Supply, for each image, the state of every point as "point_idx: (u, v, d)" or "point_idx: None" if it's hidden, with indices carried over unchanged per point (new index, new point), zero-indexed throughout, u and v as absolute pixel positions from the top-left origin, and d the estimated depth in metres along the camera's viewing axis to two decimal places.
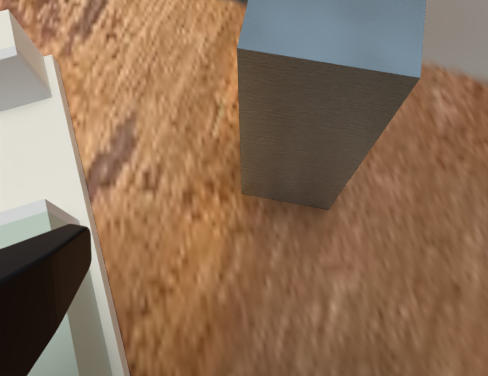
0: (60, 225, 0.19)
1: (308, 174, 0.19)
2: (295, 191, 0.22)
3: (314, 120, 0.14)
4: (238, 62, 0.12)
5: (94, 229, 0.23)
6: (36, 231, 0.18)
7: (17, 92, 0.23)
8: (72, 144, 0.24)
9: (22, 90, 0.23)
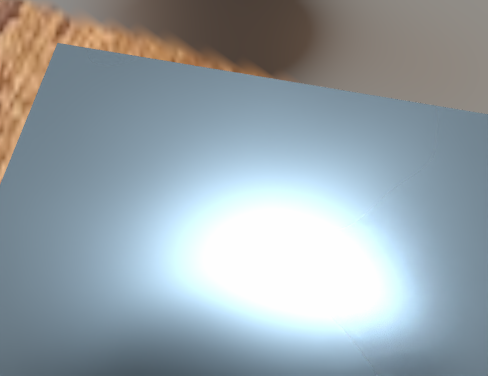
0: None
1: None
2: None
3: None
4: None
5: None
6: None
7: None
8: None
9: None
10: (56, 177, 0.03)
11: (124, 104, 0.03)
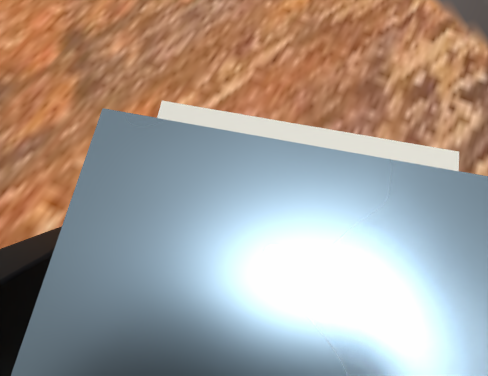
0: None
1: None
2: None
3: None
4: None
5: None
6: None
7: None
8: None
9: None
10: (106, 214, 0.04)
11: (156, 158, 0.04)
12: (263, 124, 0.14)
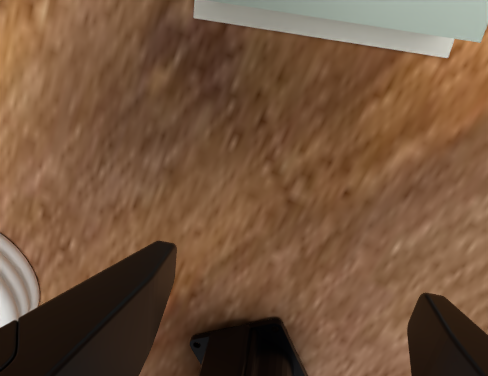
0: None
1: None
2: None
3: None
4: None
5: None
6: None
7: None
8: None
9: None
10: None
11: None
12: None
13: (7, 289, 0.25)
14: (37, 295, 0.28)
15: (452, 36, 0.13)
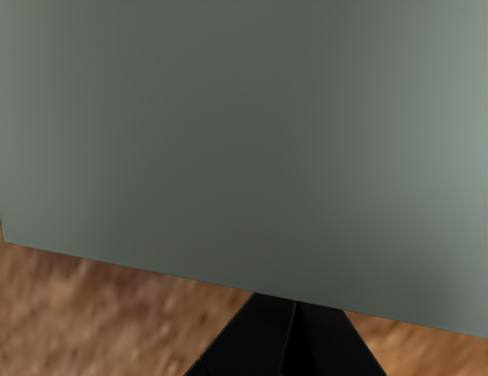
0: None
1: None
2: None
3: None
4: None
5: None
6: None
7: None
8: None
9: None
10: None
11: None
12: None
13: None
14: None
15: None
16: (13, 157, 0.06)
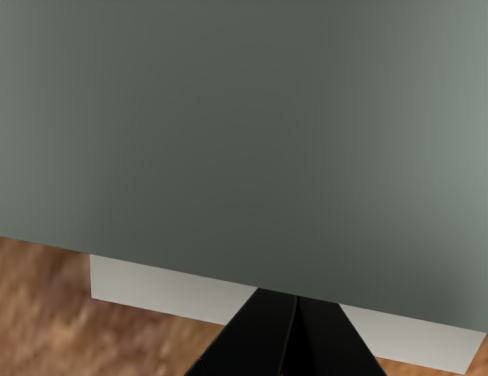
0: None
1: None
2: None
3: None
4: None
5: None
6: None
7: None
8: None
9: None
10: None
11: None
12: None
13: None
14: None
15: None
16: None
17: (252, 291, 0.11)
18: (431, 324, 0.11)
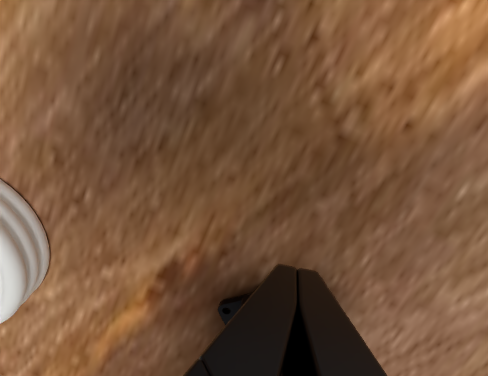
0: None
1: None
2: None
3: None
4: None
5: None
6: None
7: None
8: None
9: None
10: None
11: None
12: None
13: (14, 243, 0.22)
14: (47, 255, 0.25)
15: None
16: None
17: None
18: None
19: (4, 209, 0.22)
